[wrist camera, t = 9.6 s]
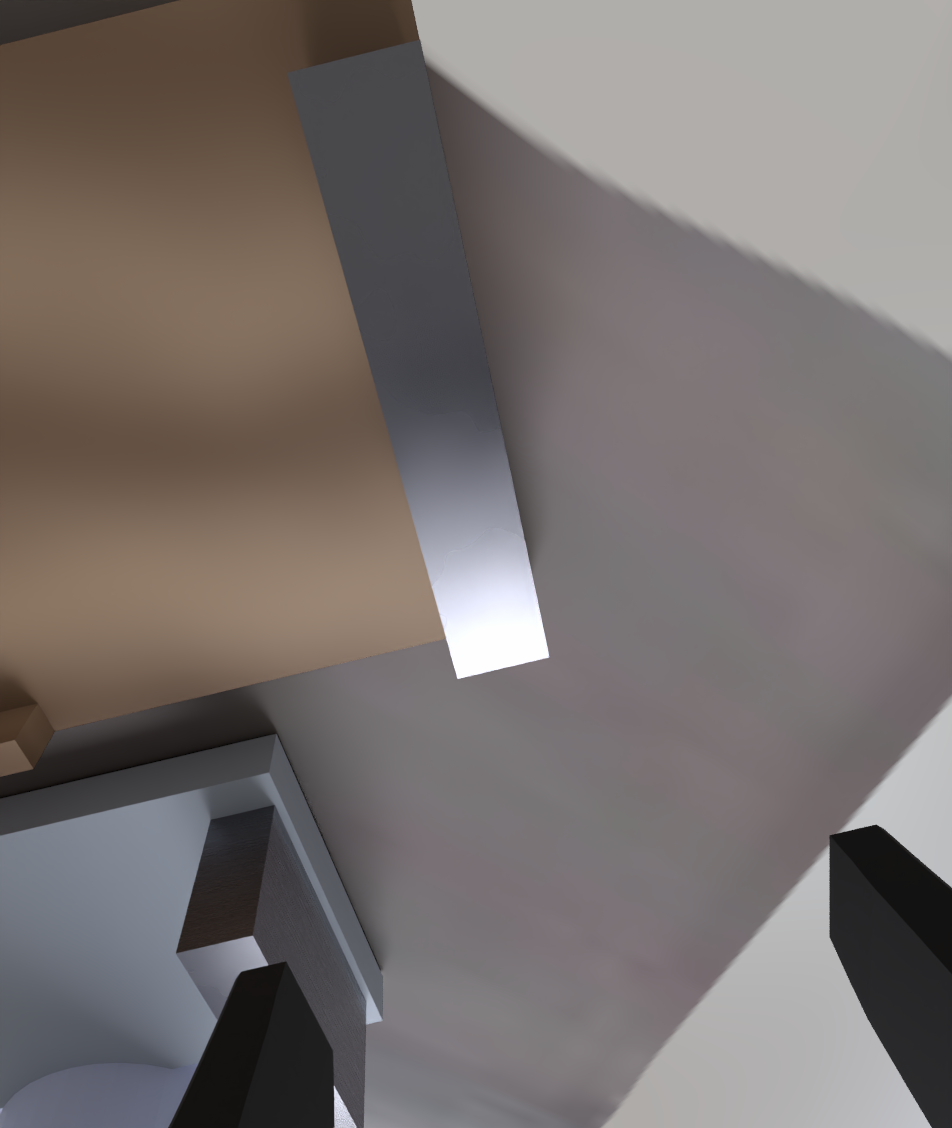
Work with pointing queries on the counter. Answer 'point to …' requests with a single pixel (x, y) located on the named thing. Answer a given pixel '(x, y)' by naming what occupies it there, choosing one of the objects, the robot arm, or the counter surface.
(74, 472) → the wooden tray
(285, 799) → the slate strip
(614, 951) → the counter surface
